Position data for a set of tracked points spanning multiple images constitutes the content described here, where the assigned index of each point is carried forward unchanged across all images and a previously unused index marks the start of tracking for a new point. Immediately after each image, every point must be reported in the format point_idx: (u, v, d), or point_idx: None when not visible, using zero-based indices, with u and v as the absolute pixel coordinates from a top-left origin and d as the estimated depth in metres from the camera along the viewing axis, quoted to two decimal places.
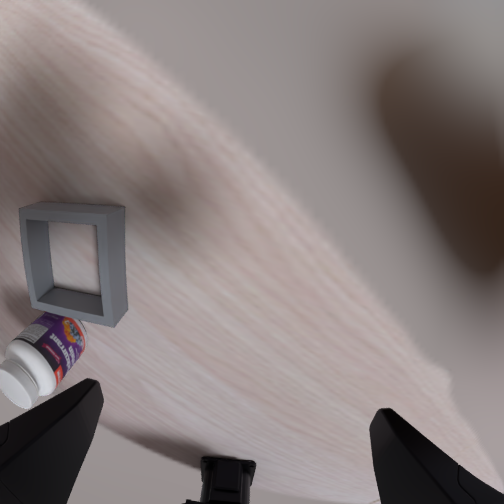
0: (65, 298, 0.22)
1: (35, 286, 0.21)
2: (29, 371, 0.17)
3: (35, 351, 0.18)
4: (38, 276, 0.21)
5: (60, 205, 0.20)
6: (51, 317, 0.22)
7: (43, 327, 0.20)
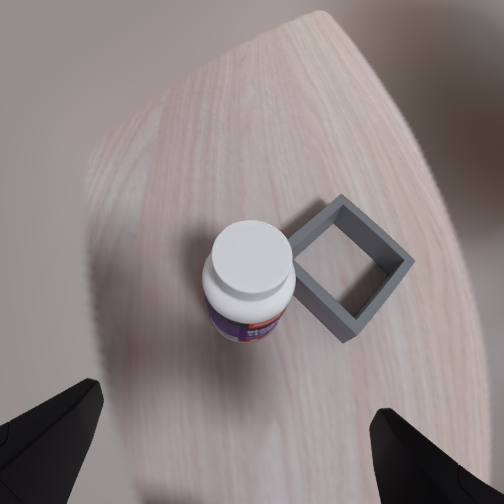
0: None
1: (298, 244, 0.23)
2: None
3: None
4: (301, 244, 0.24)
5: None
6: None
7: None
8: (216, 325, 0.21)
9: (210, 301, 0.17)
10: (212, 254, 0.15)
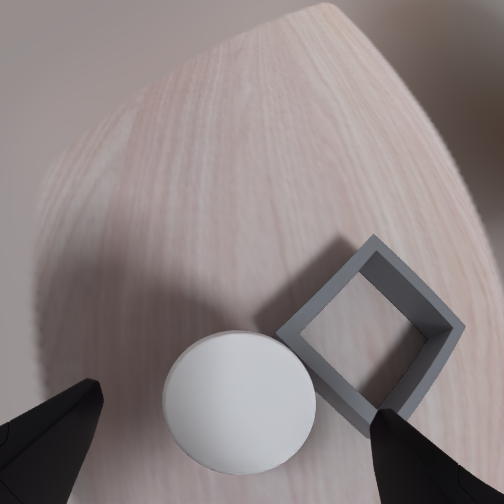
0: None
1: (313, 317, 0.15)
2: None
3: None
4: None
5: None
6: None
7: None
8: None
9: (176, 442, 0.09)
10: (166, 404, 0.07)
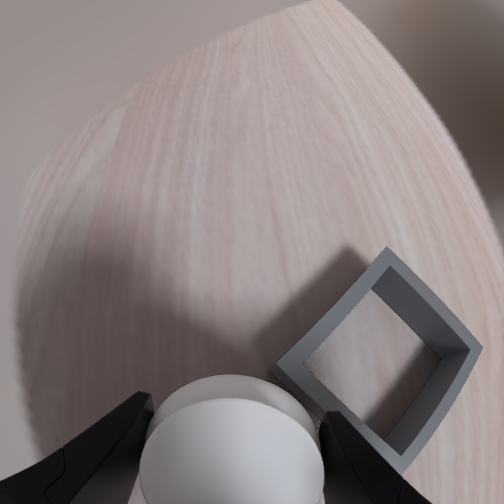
0: None
1: None
2: None
3: None
4: None
5: None
6: None
7: None
8: None
9: None
10: (141, 478, 0.05)
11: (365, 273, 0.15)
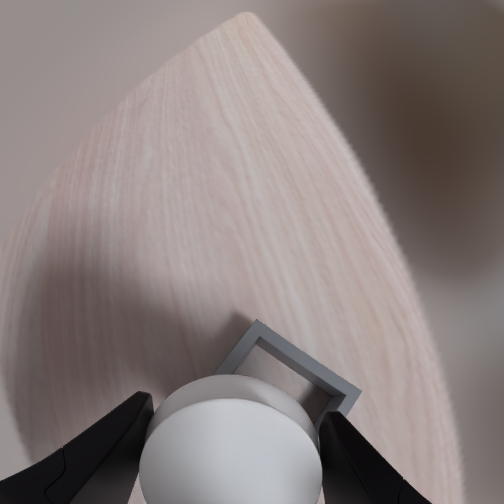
0: None
1: None
2: None
3: None
4: None
5: None
6: None
7: None
8: None
9: None
10: (141, 477, 0.05)
11: (236, 347, 0.19)
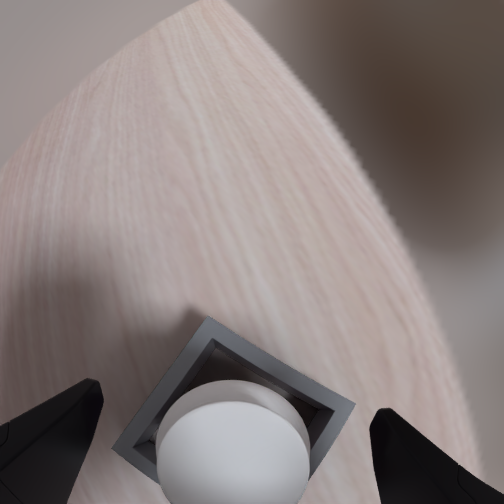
0: None
1: (146, 429, 0.12)
2: None
3: None
4: (156, 418, 0.13)
5: None
6: None
7: None
8: None
9: None
10: (158, 467, 0.06)
11: (182, 353, 0.14)
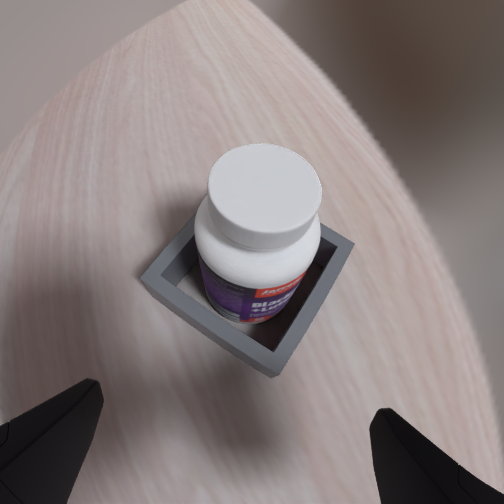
0: None
1: (175, 259, 0.16)
2: None
3: None
4: (184, 255, 0.17)
5: None
6: None
7: None
8: (211, 297, 0.16)
9: (203, 255, 0.12)
10: (209, 180, 0.10)
11: None
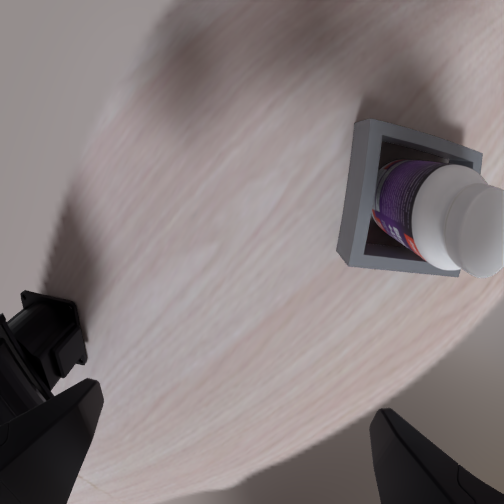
0: None
1: (400, 140, 0.15)
2: None
3: None
4: (404, 142, 0.16)
5: None
6: None
7: None
8: (383, 183, 0.17)
9: (424, 190, 0.12)
10: (483, 192, 0.09)
11: (458, 145, 0.15)
